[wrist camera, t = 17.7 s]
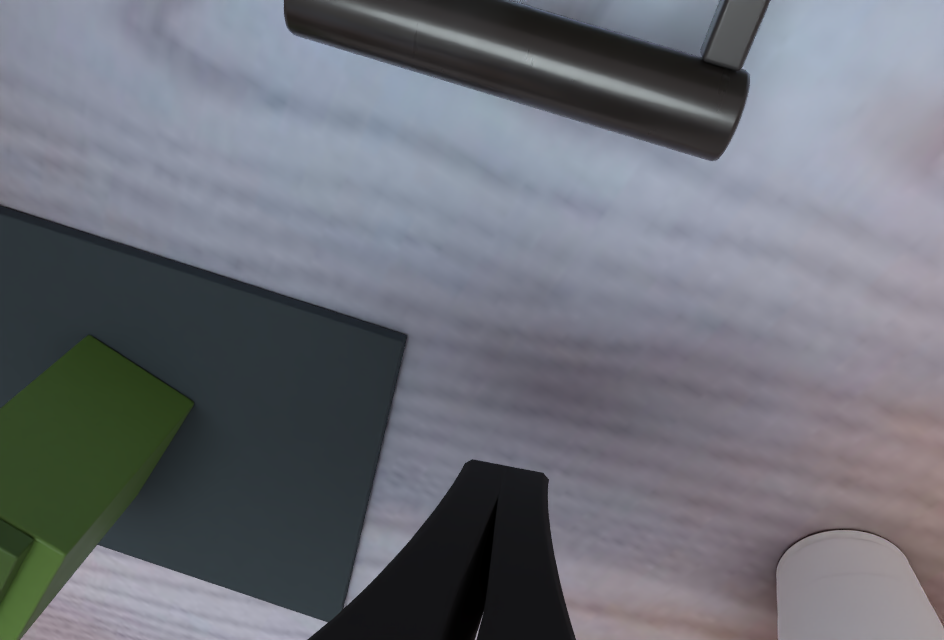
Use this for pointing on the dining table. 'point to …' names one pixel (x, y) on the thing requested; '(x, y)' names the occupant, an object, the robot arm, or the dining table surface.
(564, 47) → the drawer
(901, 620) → the cup
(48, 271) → the mat
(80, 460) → the green stepped block
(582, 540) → the dining table surface
